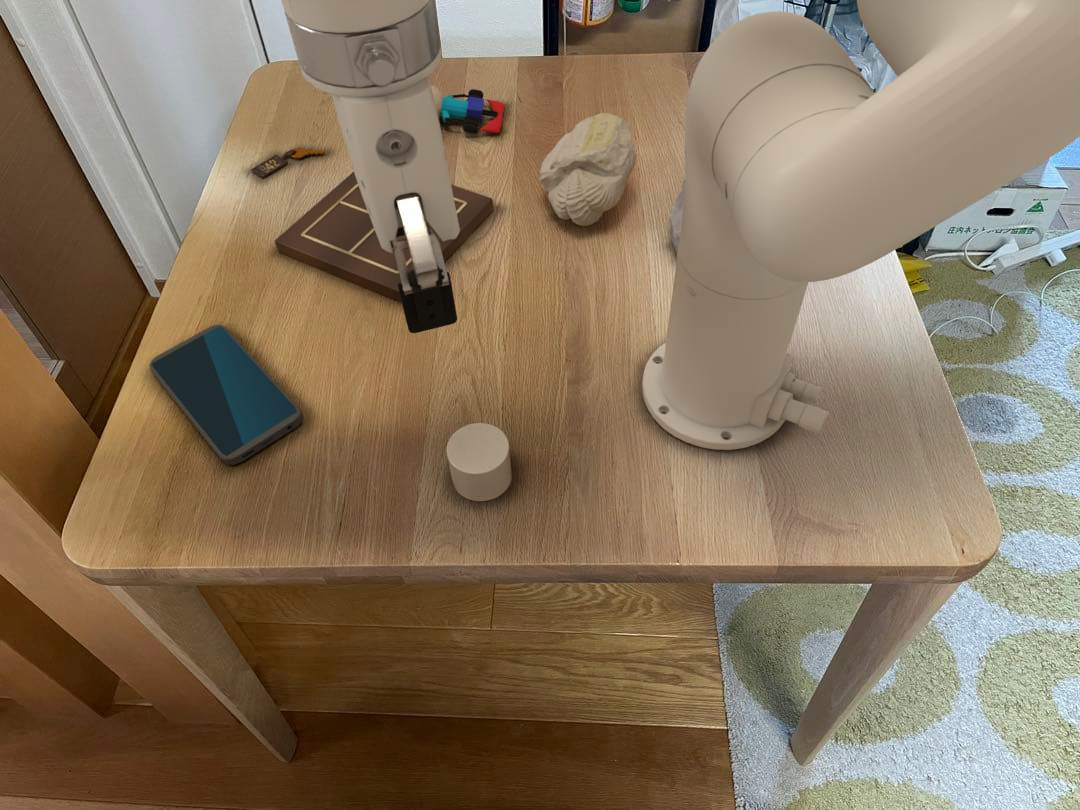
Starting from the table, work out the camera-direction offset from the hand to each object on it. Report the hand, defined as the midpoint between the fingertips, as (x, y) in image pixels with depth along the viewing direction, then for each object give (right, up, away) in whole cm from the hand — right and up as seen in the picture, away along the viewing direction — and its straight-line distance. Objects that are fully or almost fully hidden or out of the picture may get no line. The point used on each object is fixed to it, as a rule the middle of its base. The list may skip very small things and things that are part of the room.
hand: (417, 276), depth 56 cm
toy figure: (-3, +25, +41) cm, 48 cm away
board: (-7, +9, +29) cm, 32 cm away
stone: (+4, -15, +10) cm, 18 cm away
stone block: (+27, +9, +28) cm, 39 cm away
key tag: (-20, +18, +37) cm, 46 cm away
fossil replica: (+13, +13, +31) cm, 37 cm away
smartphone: (-19, -8, +16) cm, 26 cm away
